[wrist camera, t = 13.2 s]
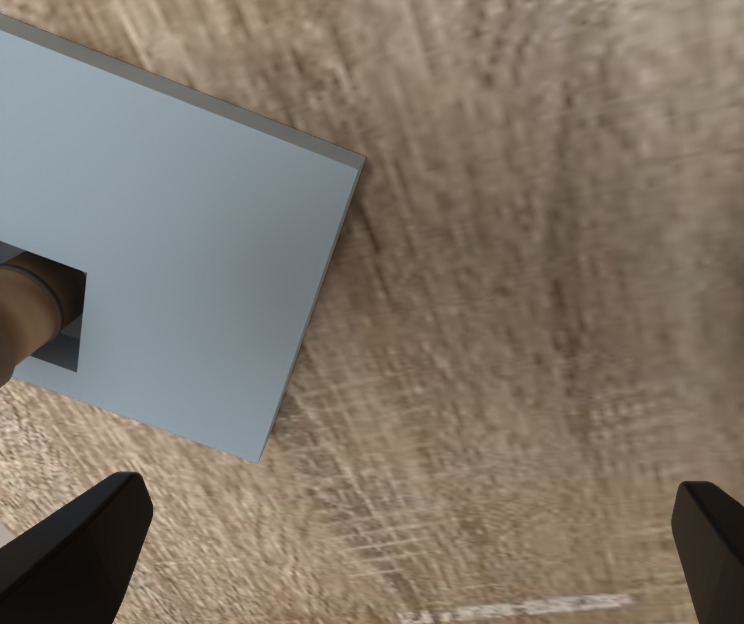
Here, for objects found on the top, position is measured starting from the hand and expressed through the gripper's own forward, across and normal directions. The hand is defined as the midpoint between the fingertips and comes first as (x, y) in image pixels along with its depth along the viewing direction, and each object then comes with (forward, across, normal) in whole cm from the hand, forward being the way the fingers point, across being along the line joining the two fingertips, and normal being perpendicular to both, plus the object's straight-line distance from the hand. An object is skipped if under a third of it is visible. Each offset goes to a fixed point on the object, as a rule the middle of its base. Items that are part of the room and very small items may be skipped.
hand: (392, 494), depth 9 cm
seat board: (+13, +12, 0) cm, 18 cm away
